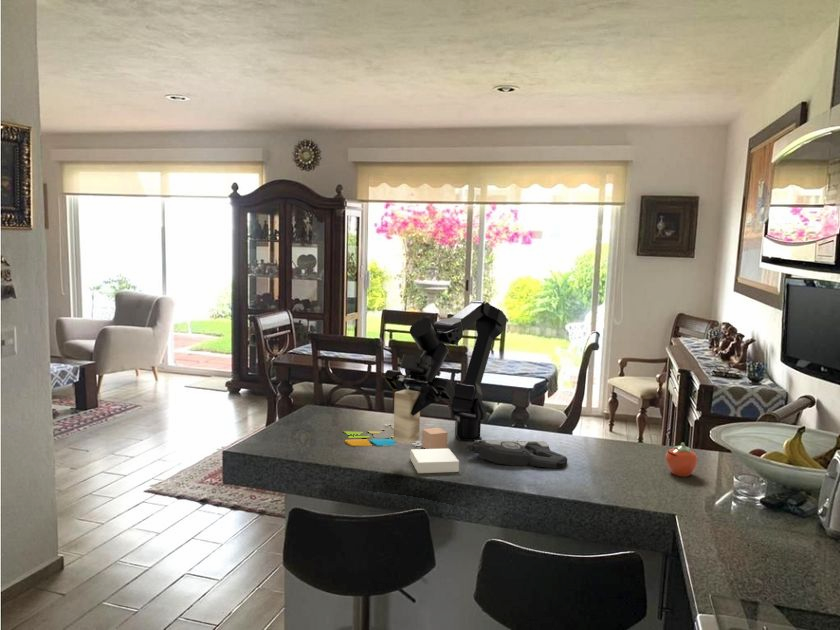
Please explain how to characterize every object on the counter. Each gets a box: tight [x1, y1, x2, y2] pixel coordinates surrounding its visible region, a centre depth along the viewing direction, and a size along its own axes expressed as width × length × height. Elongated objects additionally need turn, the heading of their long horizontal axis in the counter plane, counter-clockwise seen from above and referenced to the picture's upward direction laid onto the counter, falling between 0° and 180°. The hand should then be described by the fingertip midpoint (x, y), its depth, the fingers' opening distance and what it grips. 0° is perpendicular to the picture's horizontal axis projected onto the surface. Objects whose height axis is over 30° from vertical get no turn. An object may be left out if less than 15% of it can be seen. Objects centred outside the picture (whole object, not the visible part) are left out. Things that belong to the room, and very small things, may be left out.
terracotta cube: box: [421, 427, 448, 449], centre depth 163 cm, size 5×5×5 cm
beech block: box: [393, 389, 421, 445], centre depth 148 cm, size 4×4×12 cm
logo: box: [342, 423, 422, 448], centre depth 171 cm, size 23×1×20 cm
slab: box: [410, 447, 460, 474], centre depth 149 cm, size 10×10×3 cm
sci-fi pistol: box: [465, 439, 568, 469], centre depth 155 cm, size 4×24×15 cm
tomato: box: [665, 442, 699, 477], centre depth 149 cm, size 7×7×8 cm
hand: (403, 412), depth 146 cm, fingers closed on beech block, 4 cm apart
